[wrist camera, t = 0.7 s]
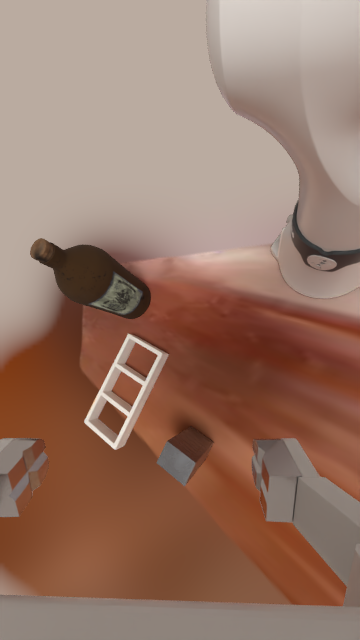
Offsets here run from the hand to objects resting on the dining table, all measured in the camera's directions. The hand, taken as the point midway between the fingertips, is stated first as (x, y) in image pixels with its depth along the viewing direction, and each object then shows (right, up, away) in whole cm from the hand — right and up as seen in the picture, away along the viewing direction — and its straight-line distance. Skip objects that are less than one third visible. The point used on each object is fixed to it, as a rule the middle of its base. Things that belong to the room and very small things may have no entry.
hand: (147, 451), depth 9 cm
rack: (-10, -10, +42) cm, 44 cm away
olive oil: (-10, +10, +47) cm, 48 cm away
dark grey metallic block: (+5, -18, +34) cm, 39 cm away
